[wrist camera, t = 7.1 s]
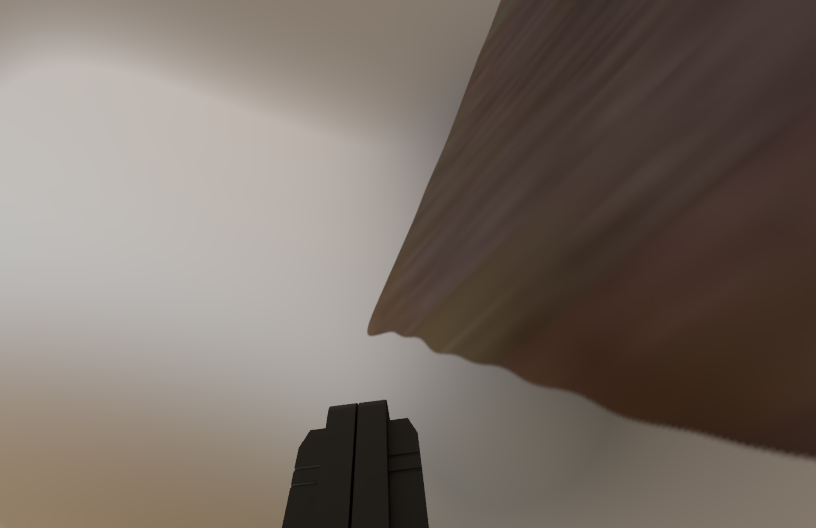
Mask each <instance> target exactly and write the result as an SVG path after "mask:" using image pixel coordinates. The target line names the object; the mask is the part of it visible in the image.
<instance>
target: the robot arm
mask: <svg viewBox="0 0 816 528" xmlns="http://www.w3.org/2000/svg"><path fill="white" fill-rule="evenodd" d="M282 528H429V525H428V517H427V508H426V499H425V491H424V482H423V473H422V465H421V457H420V450H419V441H418V433H417V431H416V430H415V428H414V427H413V425H412V424H411V423H410V421H409V419H408V418H404V419H396V420H390V418H389V412H388V405H387V400H380V401H372V402H364V403H359V406H358V404H357V403H355V404H347V405H339V406H331V407H329V410H328V416H327V423H326V428H324V429H317V430H310V432H309V433H308V435H307V436H306V438H305V440H304V441H303V442H302V444H301V445H300V447H299V450H298V454H297V459H296V464H295V471H294V473H293V478H292V483H291V488H290V492H289V497H288V502H287V507H286V511H285V516H284V520H283V526H282Z"/></svg>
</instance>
